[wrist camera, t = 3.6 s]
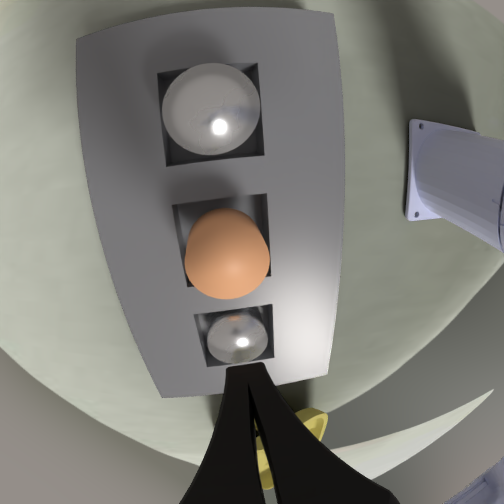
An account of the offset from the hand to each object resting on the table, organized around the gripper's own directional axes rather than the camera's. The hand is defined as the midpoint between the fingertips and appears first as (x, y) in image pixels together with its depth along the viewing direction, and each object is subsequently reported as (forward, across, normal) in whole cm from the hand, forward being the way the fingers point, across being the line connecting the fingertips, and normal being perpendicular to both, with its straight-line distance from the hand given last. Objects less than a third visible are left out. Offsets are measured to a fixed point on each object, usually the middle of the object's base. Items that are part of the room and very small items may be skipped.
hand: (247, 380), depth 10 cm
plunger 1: (+7, 0, -10) cm, 12 cm away
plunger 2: (+9, 0, +4) cm, 10 cm away
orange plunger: (+7, 0, -3) cm, 8 cm away
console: (+10, 0, -3) cm, 11 cm away
